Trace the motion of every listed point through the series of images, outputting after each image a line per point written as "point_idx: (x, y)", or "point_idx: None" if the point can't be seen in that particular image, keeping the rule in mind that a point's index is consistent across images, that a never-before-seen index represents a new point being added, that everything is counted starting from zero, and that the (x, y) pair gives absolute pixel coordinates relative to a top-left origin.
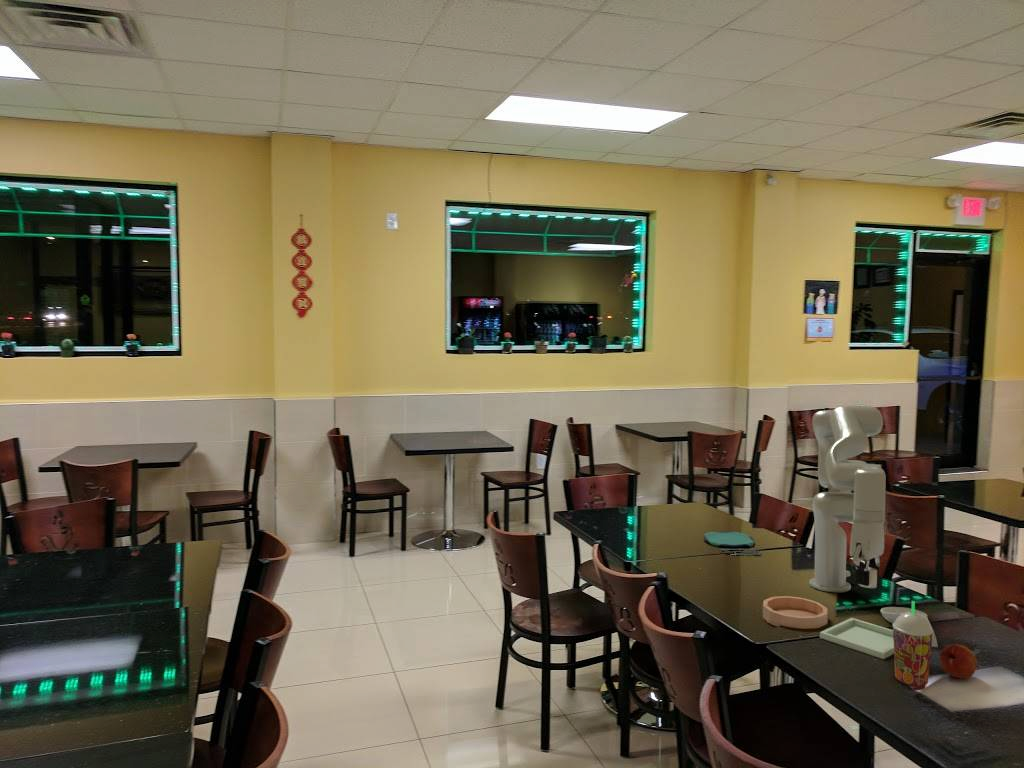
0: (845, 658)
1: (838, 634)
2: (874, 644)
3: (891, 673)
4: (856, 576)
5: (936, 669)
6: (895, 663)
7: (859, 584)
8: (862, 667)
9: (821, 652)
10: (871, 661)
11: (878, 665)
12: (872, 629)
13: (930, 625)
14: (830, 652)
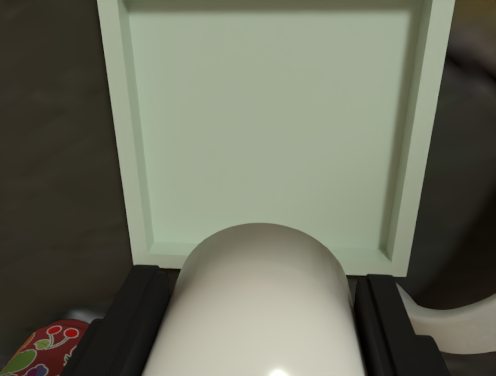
0: (58, 143)
1: (223, 12)
2: (247, 176)
3: (94, 289)
4: (107, 312)
5: None
6: (4, 368)
7: (187, 260)
8: (48, 216)
9: (16, 49)
10: (121, 214)
11: (113, 242)
12: (409, 100)
13: (464, 353)
14: (51, 75)
